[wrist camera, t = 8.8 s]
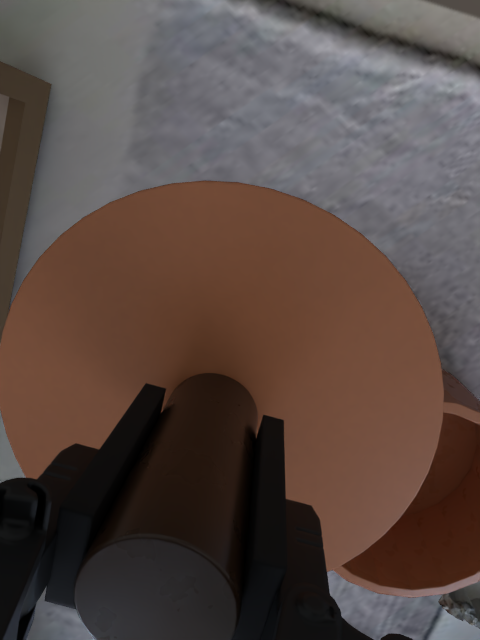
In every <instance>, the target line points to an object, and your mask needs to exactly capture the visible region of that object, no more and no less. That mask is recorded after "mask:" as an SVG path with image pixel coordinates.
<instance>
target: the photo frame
mask: <svg viewBox="0 0 480 640" xmlns="http://www.w3.org/2000/svg"><path fill="white" fill-rule="evenodd" d="M50 89H51V84H50V83H48V82H46V81H43V80H41V79H39V78H37V77H34V76H32V75H30V74H28V73H25V72H23V71H21V70H19V69H16V68H14V67H12V66H10V65H7V64H5V63H3V62H1V61H0V343H1V338H2V332H3V329H4V325H5V322H6V319H7V316H8V310H9V305H10V300H11V295H12V289H13V284H14V279H15V273H16V268H17V263H18V258H19V252H20V247H21V242H22V236H23V231H24V226H25V221H26V215H27V210H28V205H29V200H30V194H31V189H32V184H33V178H34V173H35V168H36V163H37V157H38V152H39V147H40V141H41V136H42V131H43V126H44V120H45V115H46V110H47V104H48V99H49V94H50Z"/></svg>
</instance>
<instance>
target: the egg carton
mask: <svg viewBox="0 0 480 640" xmlns="http://www.w3.org/2000/svg"><path fill="white" fill-rule="evenodd" d="M441 595H442V597H441V598H440V599H439V601H438V602H439V604H440V605H442V608H443V609H446V611H447V612H448V613H449V614H451V615H453V616H454V617H456V618H458V619H460V620H462V621H463V619H465V620H466V621H467V622H468V623H469V624H471V625H474V626H476V627H478V628H479V629H480V581H479V582H477V583H474V584H472V585H469V586H466V587H464V588H461V589H458V590H456V591H453V592H450V593H448V594H441Z"/></svg>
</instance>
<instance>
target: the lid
mask: <svg viewBox="0 0 480 640" xmlns="http://www.w3.org/2000/svg"><path fill="white" fill-rule="evenodd" d="M146 383H148V384H152V385H155V386H159V387H163V388H166V392H165V397H164V401H163V405H162V410H161V414H160V416H159V418H158V420H157V422H156V424H155V426H154V428H153V429H152V431H151V433H150V435H149V437H148V439H147V441H146V443H145V444H144V446H143V448H142V450H141V452H140V454H139V456H138V458H137V459H136V461H135V463H134V465H133V467H132V469H131V471H130V473H129V474H128V476H127V478H126V480H125V482H124V484H123V486H122V488H121V489H120V491H119V493H118V495H117V497H116V499H115V501H114V503H113V504H112V506H111V508H110V510H109V512H108V514H107V516H106V518H105V519H104V521H103V523H102V525H101V527H100V529H99V531H98V533H97V535H96V536H95V538H94V540H93V542H92V544H91V546H90V548H89V550H88V551H87V553H86V555H85V557H84V559H83V561H82V563H81V565H80V567H79V569H78V571H77V574H76V577H75V581H74V602H75V607H76V610H77V613H78V616H79V618H80V620H81V622H82V623H83V625H84V627H85V628H86V629H87V631H88V632H89V634H90V635H91V636H92V637H93V638H94V639H95V640H231V638H232V637H233V635H234V634H235V631H236V629H237V627H238V624H239V619H240V612H241V601H242V589H243V577H244V566H245V555H246V544H247V533H248V522H249V511H250V500H251V488H252V477H253V466H254V455H255V444H256V437H257V434H258V431H259V427H260V424H261V421H262V417H263V415H267V416H271V417H275V418H278V419H282V420H284V448H285V489H286V499H289V500H293V501H297V502H300V503H304V504H308V505H311V506H312V507H313V509H314V510H315V512H316V514H317V515H318V517H319V519H320V523H321V530H322V538H323V549H324V554H325V562H326V569H327V572H328V571H331V570H333V569H335V568H337V567H339V566H341V565H343V564H345V563H346V562H348V561H349V560H351V559H353V558H354V557H356V556H357V555H359V554H361V553H362V552H364V551H365V550H366V549H367V548H369V547H370V546H371V545H372V544H374V543H375V542H376V541H377V540H378V539H380V538H381V537H382V536H383V535H384V534H385V533H386V532H387V531H388V530H389V529H390V528H391V527H392V526H393V525H394V524H395V523H396V522H397V521H398V519H399V518H400V517H401V516H402V515H403V513H404V512H405V511H406V509H407V508H408V506H409V505H410V504H411V502H412V501H413V499H414V498H415V497H416V495H417V493H418V491H419V489H420V487H421V486H422V484H423V482H424V480H425V478H426V476H427V474H428V472H429V469H430V466H431V464H432V461H433V458H434V455H435V452H436V450H437V446H438V441H439V436H440V431H441V426H442V421H443V402H444V387H443V378H442V368H441V361H440V358H439V354H438V350H437V346H436V342H435V338H434V334H433V332H432V330H431V327H430V325H429V323H428V320H427V318H426V316H425V313H424V311H423V308H422V306H421V305H420V303H419V301H418V300H417V298H416V296H415V295H414V293H413V292H412V290H411V288H410V287H409V285H408V283H407V282H406V280H405V279H404V278H403V276H402V275H401V274H400V273H399V272H398V270H397V269H396V268H395V267H394V266H393V264H392V263H391V262H390V261H389V259H388V258H387V257H386V256H385V255H384V254H383V253H382V252H381V251H380V250H379V249H378V248H376V247H375V246H374V245H373V244H372V243H371V242H370V241H369V240H368V239H367V238H365V237H364V236H363V235H362V234H361V233H360V232H358V231H357V230H355V229H354V228H352V227H351V226H349V225H348V224H347V223H345V222H344V221H342V220H341V219H339V218H338V217H336V216H335V215H333V214H331V213H329V212H327V211H325V210H323V209H321V208H319V207H317V206H315V205H313V204H311V203H309V202H307V201H305V200H303V199H300V198H297V197H294V196H291V195H288V194H285V193H282V192H279V191H277V190H274V189H270V188H265V187H260V186H254V185H249V184H244V183H239V182H221V181H195V182H183V183H172V184H167V185H163V186H159V187H154V188H150V189H146V190H141V191H138V192H136V193H133V194H130V195H128V196H125V197H123V198H120V199H117V200H115V201H112V202H110V203H108V204H106V205H105V206H103V207H101V208H99V209H98V210H96V211H94V212H92V213H90V214H89V215H87V216H85V217H83V218H82V219H81V220H80V221H78V222H77V223H76V224H74V225H73V226H72V227H71V228H69V229H68V230H67V231H65V232H64V233H63V234H62V235H60V236H59V237H58V238H57V239H56V240H55V242H54V243H53V244H52V245H51V246H50V247H49V248H48V249H47V250H46V251H45V252H44V253H43V254H42V255H41V256H40V257H39V259H38V260H37V262H36V263H35V265H34V266H33V267H32V269H31V270H30V272H29V273H28V275H27V276H26V277H25V279H24V280H23V282H22V284H21V286H20V288H19V290H18V292H17V294H16V296H15V298H14V300H13V302H12V304H11V307H10V310H9V313H8V316H7V319H6V322H5V325H4V329H3V332H2V338H1V344H0V410H1V414H2V418H3V422H4V426H5V430H6V434H7V437H8V439H9V442H10V445H11V447H12V450H13V452H14V455H15V458H16V460H17V461H18V463H19V465H20V467H21V469H22V471H23V473H24V475H25V476H26V478H33V479H38V477H39V476H40V475H41V474H43V472H44V470H45V469H46V468H47V467H48V466H49V464H51V462H52V461H53V460H54V459H55V457H56V456H57V455H58V454H59V453H60V451H62V450H64V449H66V448H67V447H69V446H71V445H73V444H75V443H77V444H81V445H85V446H88V447H92V448H96V449H100V448H101V446H102V445H103V444H104V442H105V441H106V439H107V438H108V436H109V435H110V434H111V432H112V431H113V429H114V428H115V426H116V425H117V424H118V422H119V421H120V419H121V418H122V416H123V415H124V414H125V412H126V411H127V409H128V408H129V406H130V405H131V404H132V402H133V401H134V399H135V398H136V396H137V395H138V394H139V392H140V391H141V389H142V388H143V386H144V385H145V384H146Z"/></svg>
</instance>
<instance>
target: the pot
mask: <svg viewBox="0 0 480 640" xmlns="http://www.w3.org/2000/svg"><path fill="white" fill-rule="evenodd" d="M442 378H443V387H444V402H443V421H442V426H441V431H440V436H439V441H438V446H437V450H436V452H435V455H434V458H433V461H432V464H431V466H430V469H429V472H428V474H427V476H426V478H425V480H424V482H423V484H422V486H421V487H420V489H419V491H418V493H417V495H416V497H415V498H414V499H413V501H412V502H411V504H410V505H409V506H408V508H407V509H406V511H405V512H404V513H403V515H402V516H401V517H400V518H399V519H398V521H397V522H396V523H395V524H394V525H393V526H392V527H391V528H390V529H389V530H388V531H387V532H386V533H385V534H384V535H383V536H382V537H381V538H380V539H378V540H377V541H376V542H375V543H374V544H372V545H371V546H370V547H369V548H367V549H366V550H365V551H364V552H362V553H361V554H359V555H357V556H356V557H354V558H353V559H351V560H349V561H348V562H346V563H345V564H343V565H341V566H339V567H337V568H335V569H333V571H335V572H336V573H337V574H339V575H340V576H341V577H342V578H344V579H345V580H346V581H348V582H351V583H353V584H356V585H358V586H361V587H363V588H365V589H368V590H370V591H373V592H375V593H379V594H386V595H394V596H401V597H409V598H411V597H412V598H413V597H423V596H432V595H441V594H448V593H450V592H453V591H456V590H458V589H461V588H464V587H466V586H469V585H472V584H474V583H477V582H479V581H480V401H479V400H478V399H477V398H476V397H475V396H474V395H473V394H472V393H471V392H470V391H469V390H468V389H467V388H466V387H465V386H464V385H463V384H462V383H460V382H459V381H458V380H457V379H456V378H455V377H454V376H453V375H451V374H450V373H449V372H446V371H445V370H443V369H442Z"/></svg>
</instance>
